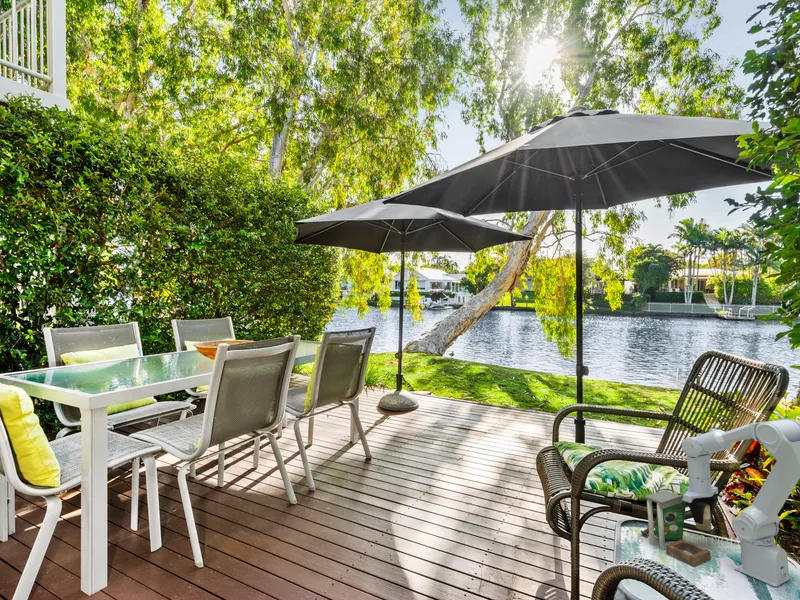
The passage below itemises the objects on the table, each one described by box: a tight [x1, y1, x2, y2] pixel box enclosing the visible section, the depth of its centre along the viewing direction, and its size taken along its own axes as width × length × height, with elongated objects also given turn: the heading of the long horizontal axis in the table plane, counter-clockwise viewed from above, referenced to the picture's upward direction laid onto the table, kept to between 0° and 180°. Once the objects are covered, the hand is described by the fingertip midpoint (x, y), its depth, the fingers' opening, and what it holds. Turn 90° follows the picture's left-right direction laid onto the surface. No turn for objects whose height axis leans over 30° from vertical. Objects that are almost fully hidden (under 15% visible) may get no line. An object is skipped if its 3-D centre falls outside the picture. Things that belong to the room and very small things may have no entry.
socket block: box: [665, 538, 712, 568], centre depth 127 cm, size 8×8×2 cm
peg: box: [694, 504, 712, 532], centre depth 132 cm, size 4×4×7 cm
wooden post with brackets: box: [640, 518, 656, 538], centre depth 141 cm, size 2×8×4 cm, turn 110°
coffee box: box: [654, 497, 687, 541], centre depth 137 cm, size 8×3×13 cm, turn 96°
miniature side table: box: [644, 489, 683, 551], centre depth 135 cm, size 6×10×15 cm, turn 116°
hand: (703, 521), depth 132 cm, fingers closed on peg, 4 cm apart
